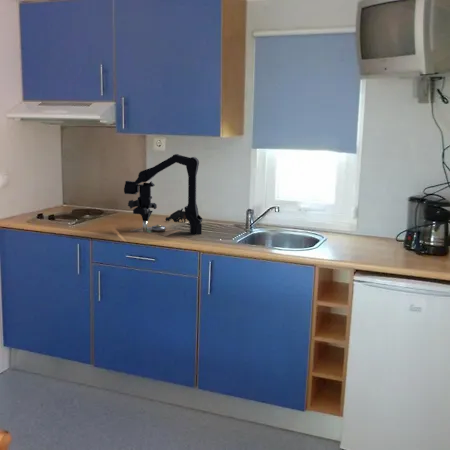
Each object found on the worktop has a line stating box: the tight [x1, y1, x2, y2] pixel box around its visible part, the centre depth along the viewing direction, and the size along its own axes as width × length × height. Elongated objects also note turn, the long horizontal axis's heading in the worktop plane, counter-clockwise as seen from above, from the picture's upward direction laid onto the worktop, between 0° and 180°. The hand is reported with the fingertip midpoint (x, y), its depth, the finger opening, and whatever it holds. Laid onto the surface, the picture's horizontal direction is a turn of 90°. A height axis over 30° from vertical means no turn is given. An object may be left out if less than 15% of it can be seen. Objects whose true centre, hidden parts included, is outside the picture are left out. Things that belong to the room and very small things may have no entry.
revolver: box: [165, 208, 187, 223], centre depth 307 cm, size 3×18×12 cm
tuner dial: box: [142, 220, 167, 232], centre depth 276 cm, size 12×7×5 cm, turn 107°
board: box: [129, 225, 182, 237], centre depth 279 cm, size 22×16×1 cm
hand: (145, 224), depth 278 cm, fingers closed
